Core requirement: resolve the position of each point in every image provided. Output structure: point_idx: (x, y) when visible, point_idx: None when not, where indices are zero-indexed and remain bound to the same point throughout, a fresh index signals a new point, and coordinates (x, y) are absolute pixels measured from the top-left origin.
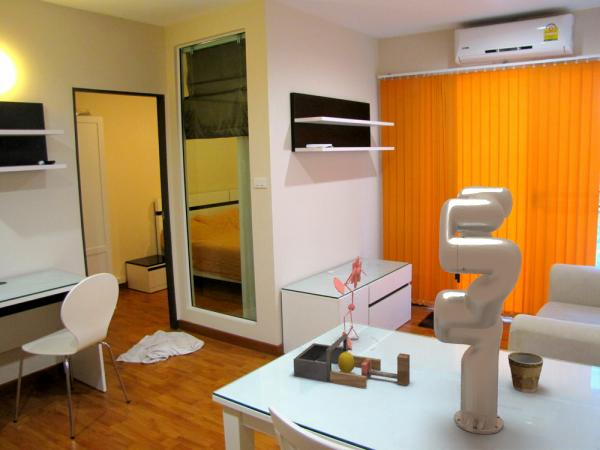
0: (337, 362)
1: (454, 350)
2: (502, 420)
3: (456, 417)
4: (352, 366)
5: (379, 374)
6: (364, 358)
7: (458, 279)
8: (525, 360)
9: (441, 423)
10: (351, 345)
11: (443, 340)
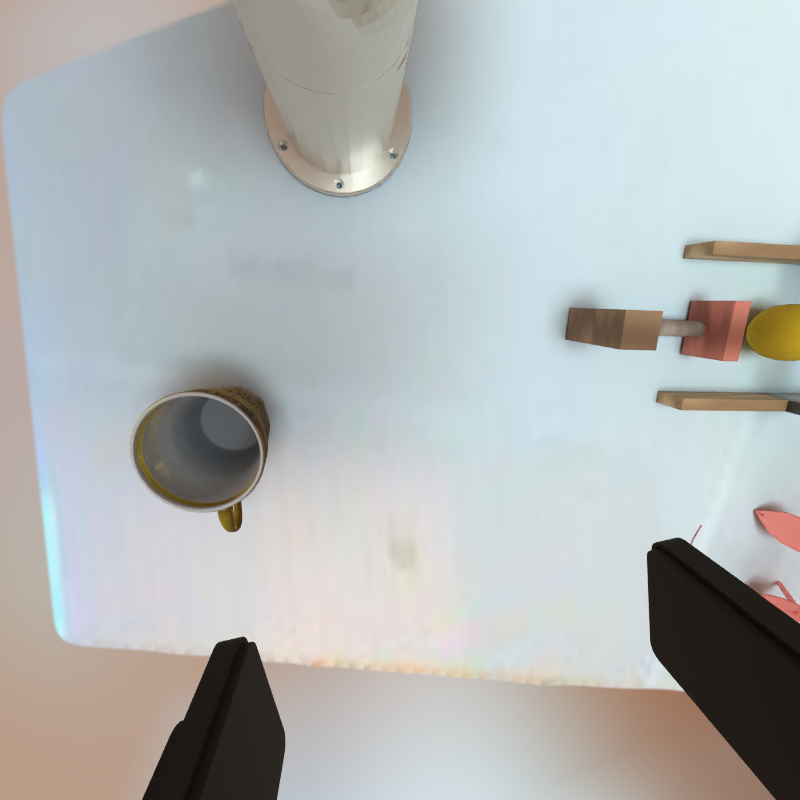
0: (788, 394)
1: (461, 616)
2: (267, 126)
3: (404, 98)
4: (761, 321)
5: (665, 320)
6: (730, 399)
7: (703, 566)
8: (215, 491)
9: (444, 76)
10: (764, 524)
11: None
